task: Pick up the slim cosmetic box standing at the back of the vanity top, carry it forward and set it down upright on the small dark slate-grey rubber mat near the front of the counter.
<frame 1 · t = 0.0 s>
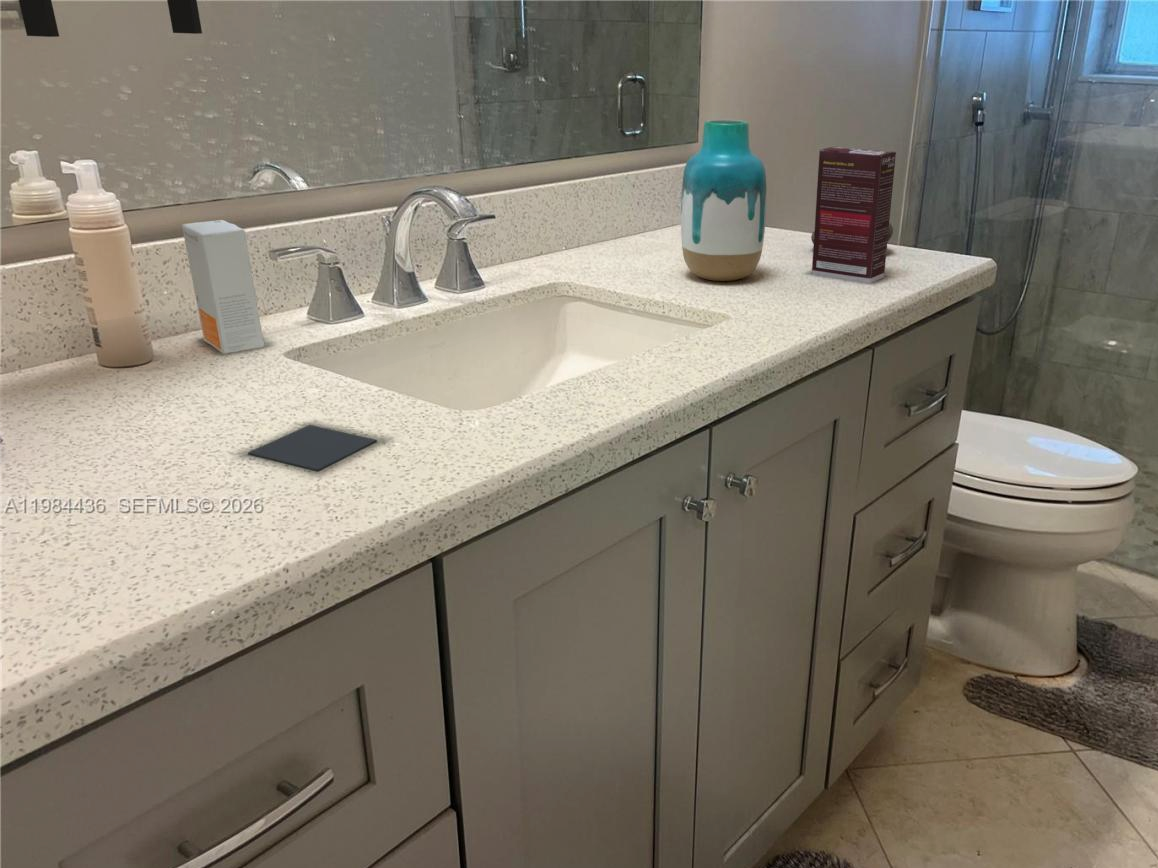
hand: (120, 35, 85), 29 cm above the worktop, tool pointing down, fingers open, 13 cm apart
vase: (721, 281, 133), on the worktop
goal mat: (314, 451, 81), on the worktop
supplement box: (846, 279, 135), on the worktop
cosmetic box: (234, 348, 105), on the worktop
stone: (849, 255, 148), on the worktop
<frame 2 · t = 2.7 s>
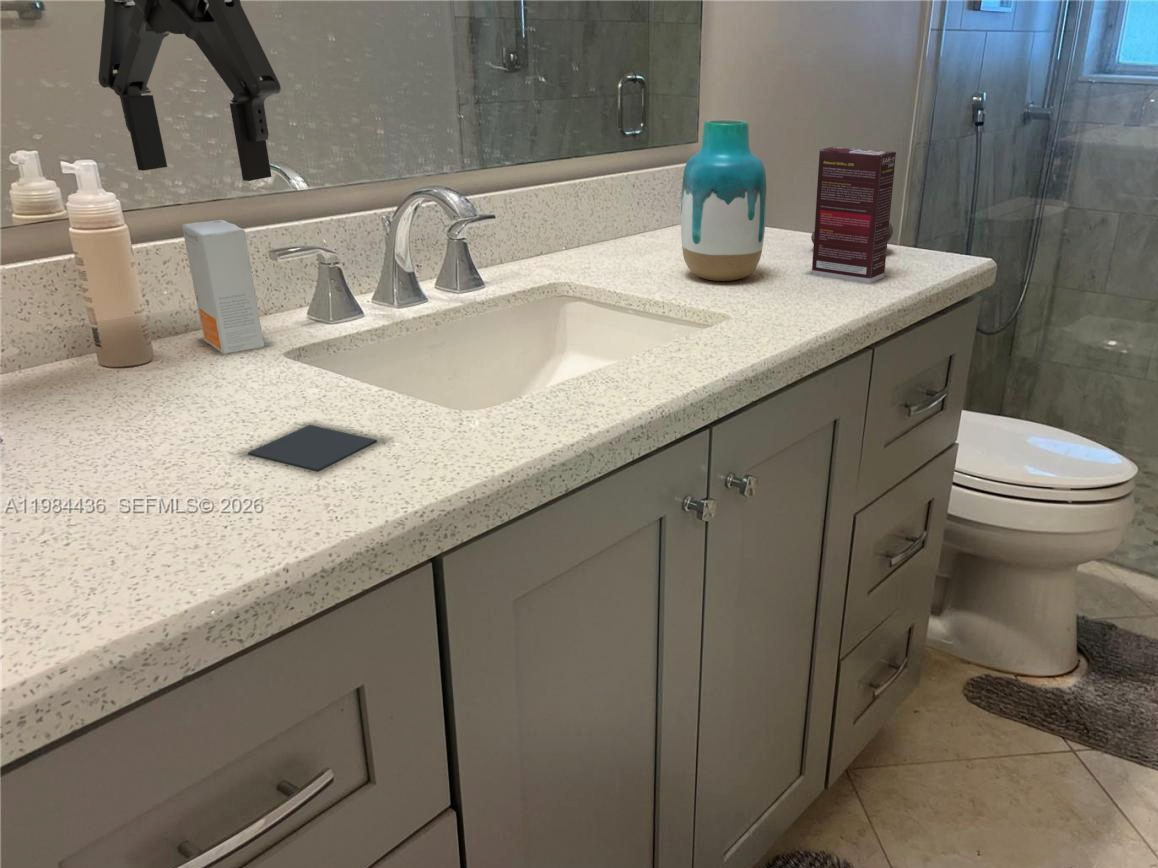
hand: (203, 174, 97), 17 cm above the worktop, tool pointing down, fingers open, 13 cm apart
nothing on the worktop moved.
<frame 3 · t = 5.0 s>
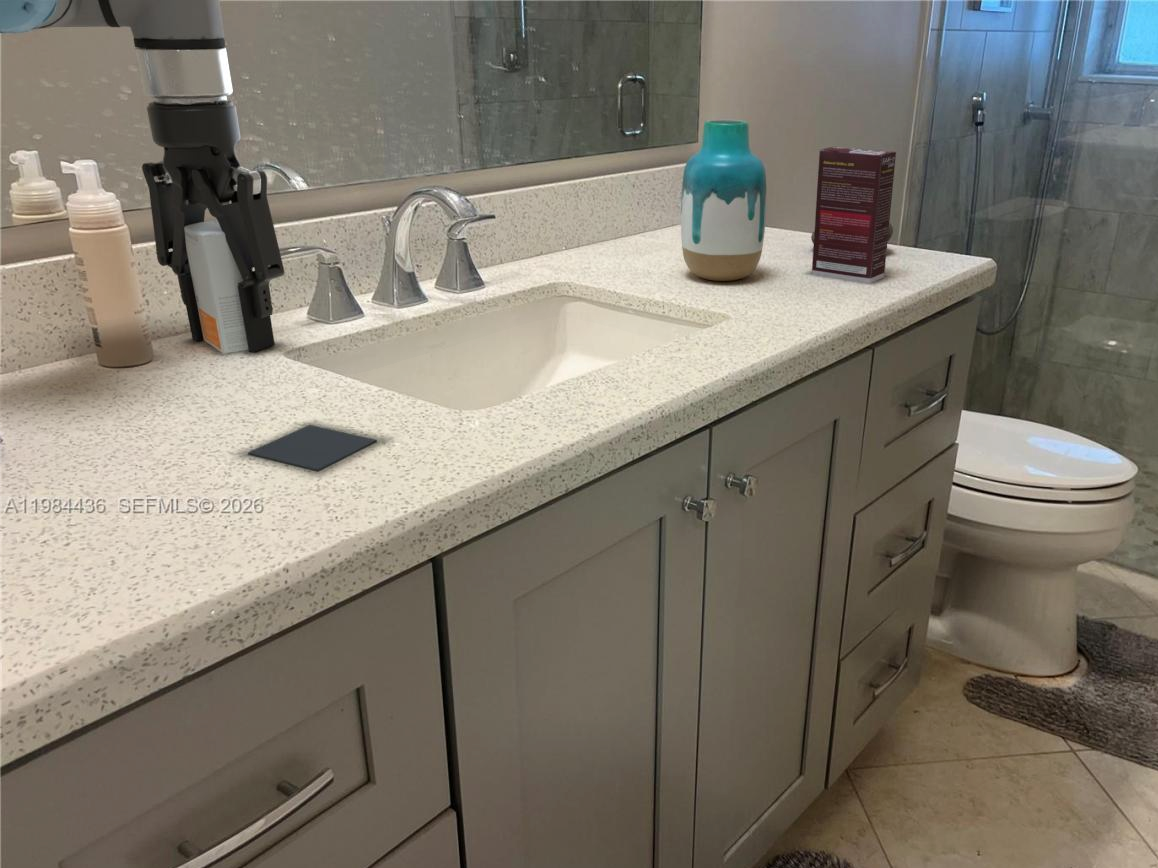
hand: (233, 342, 105), 0 cm above the worktop, tool pointing down, fingers closed on cosmetic box, 7 cm apart
cosmetic box: (234, 348, 105), on the worktop, touching gripper
everything else where it was.
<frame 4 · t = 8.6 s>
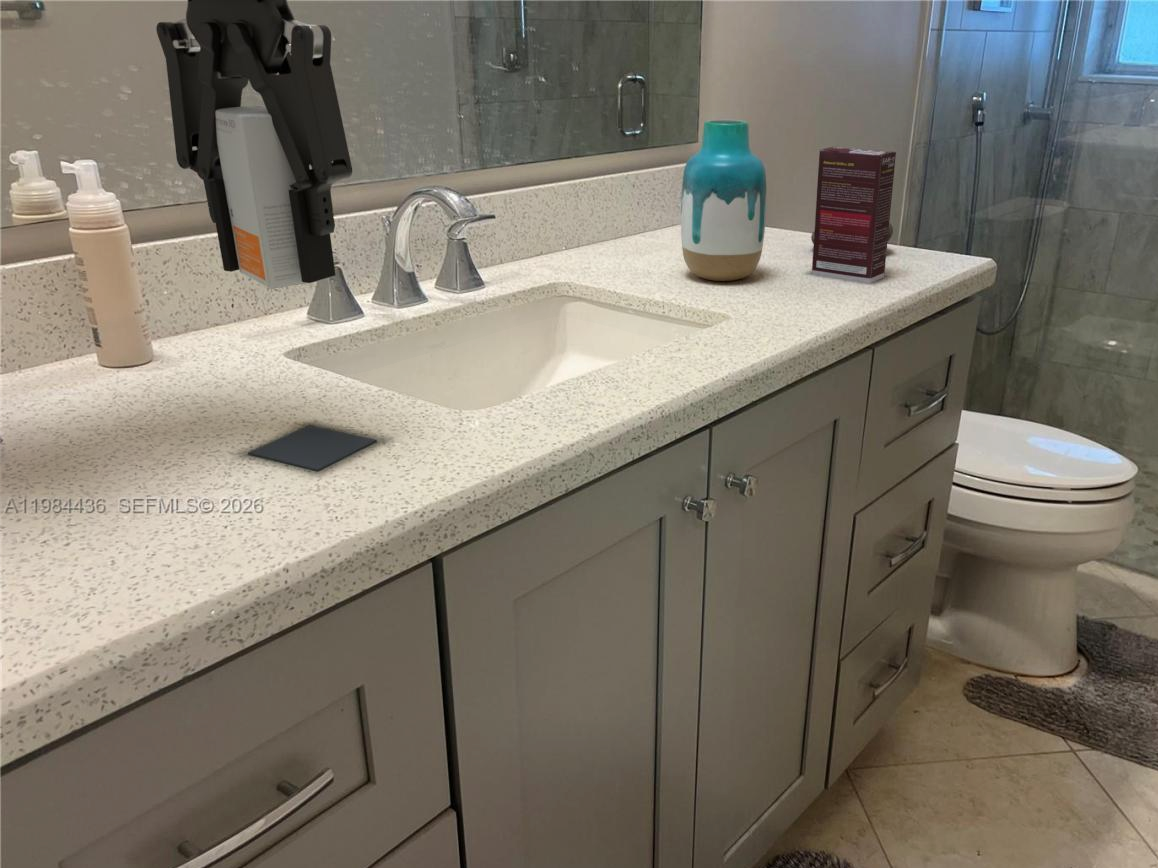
hand: (279, 272, 78), 13 cm above the worktop, tool pointing down, fingers closed on cosmetic box, 7 cm apart
cosmetic box: (281, 280, 79), point 13 cm above the worktop, touching gripper
everything else where it was.
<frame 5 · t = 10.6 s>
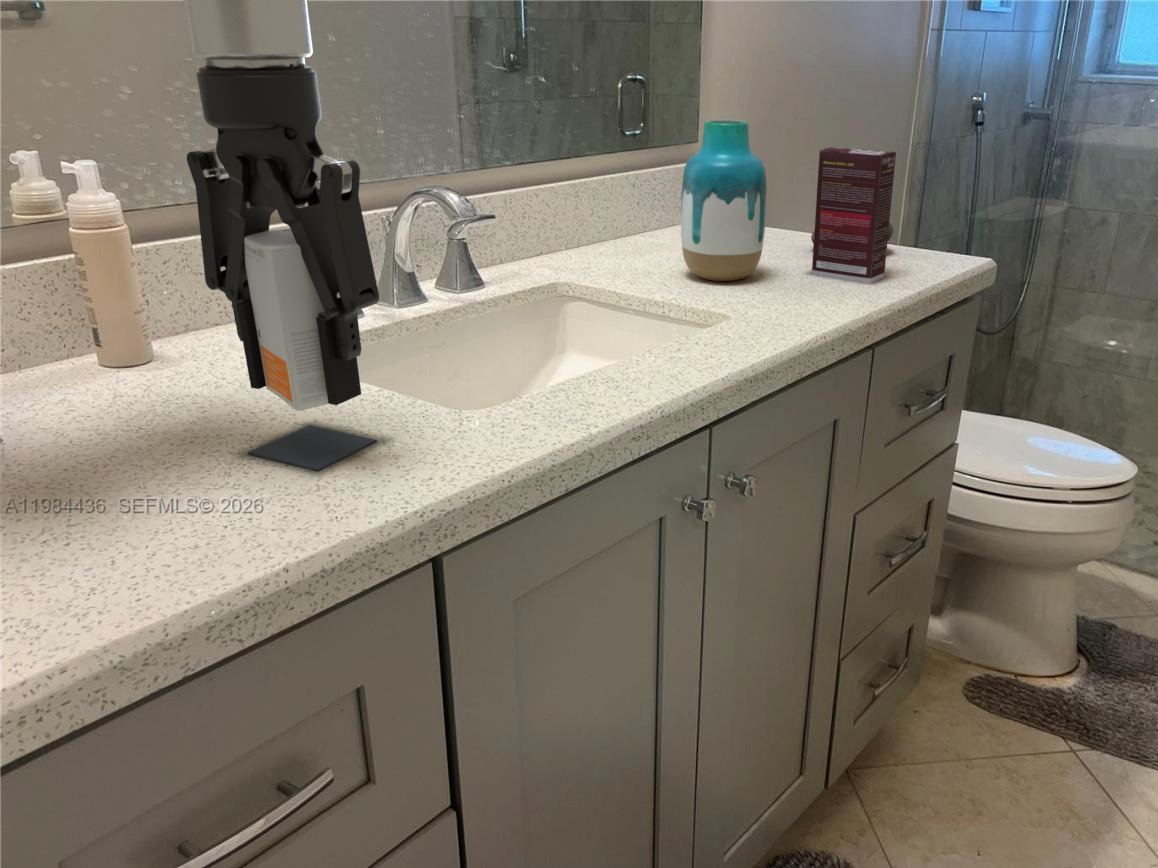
hand: (305, 390, 79), 5 cm above the worktop, tool pointing down, fingers closed on cosmetic box, 7 cm apart
cosmetic box: (307, 398, 79), point 4 cm above the worktop, touching gripper
everything else where it was.
when the fingers open (1 cm above the worktop, at t = 12.1 s): cosmetic box stays where it is, resting on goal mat.
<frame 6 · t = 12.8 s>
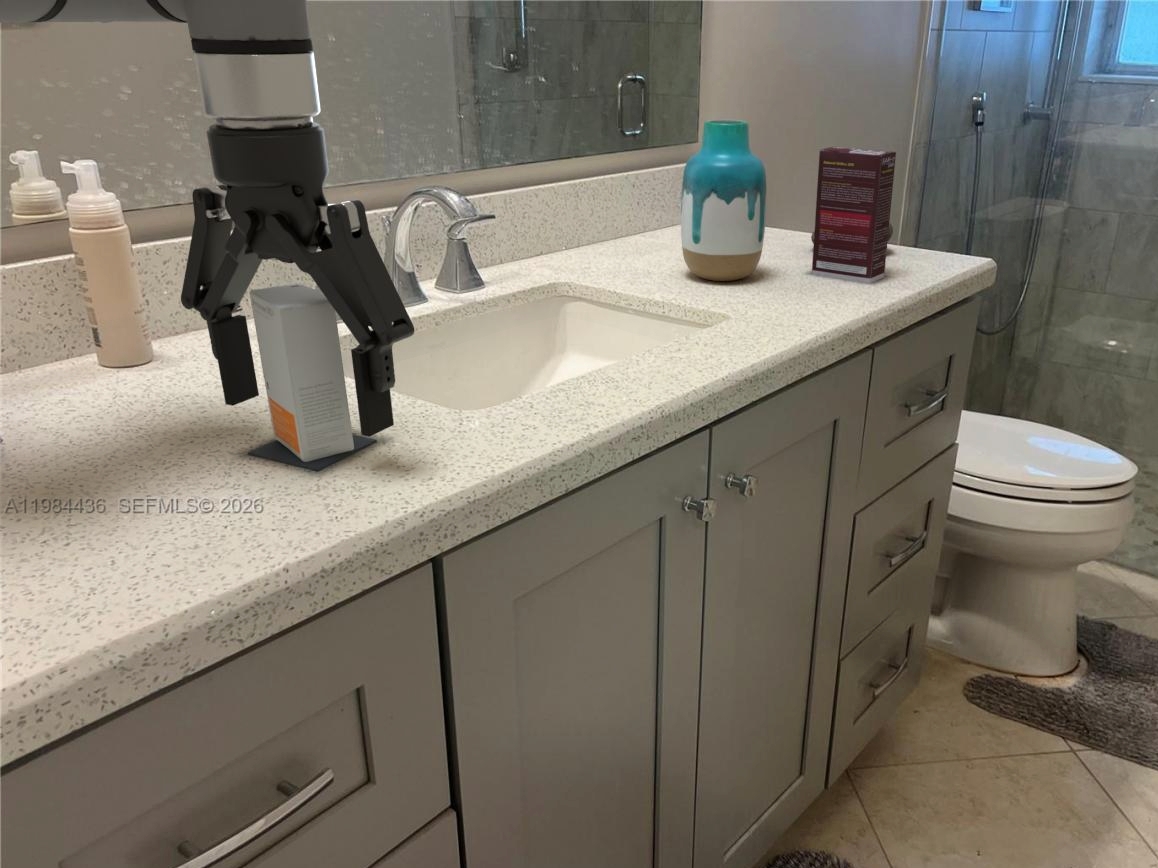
hand: (308, 414, 80), 3 cm above the worktop, tool pointing down, fingers open, 13 cm apart
cosmetic box: (314, 448, 81), resting on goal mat
everything else where it was.
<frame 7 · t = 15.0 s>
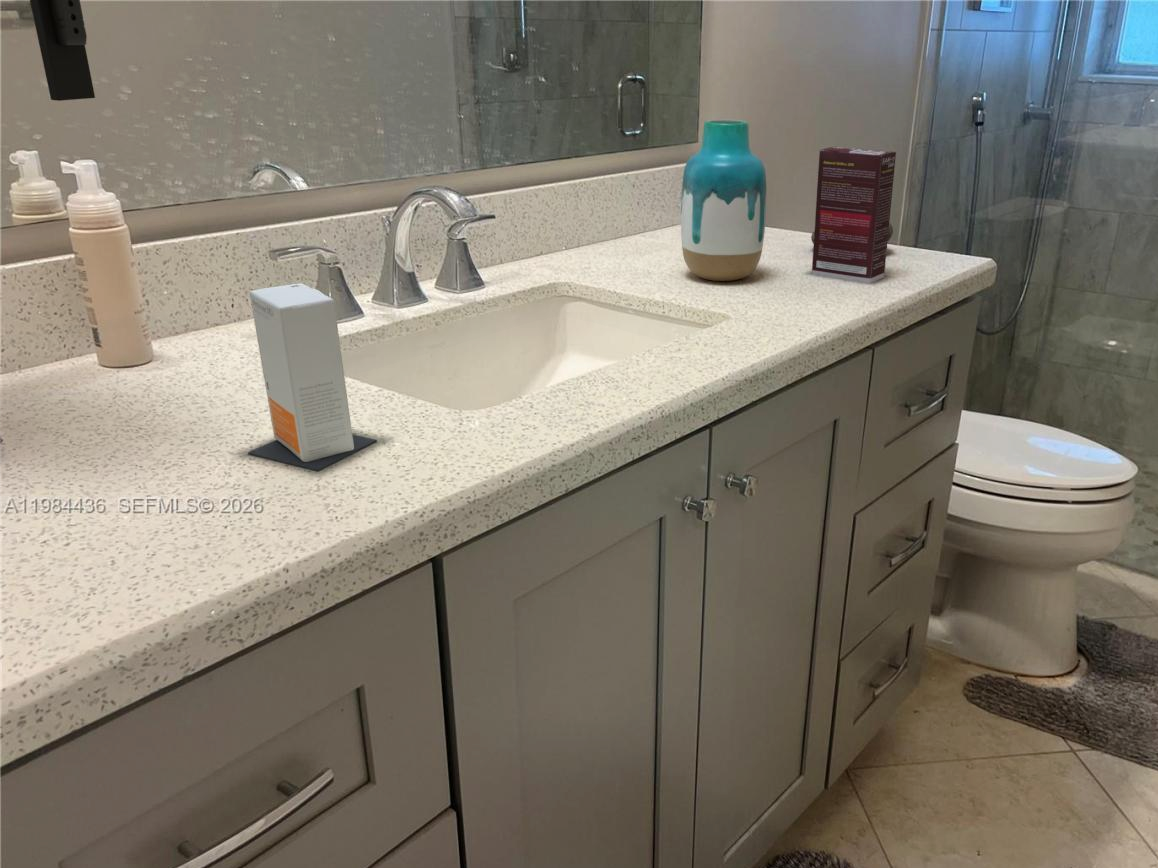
hand: (5, 91, 72), 26 cm above the worktop, tool pointing down, fingers open, 13 cm apart
nothing on the worktop moved.
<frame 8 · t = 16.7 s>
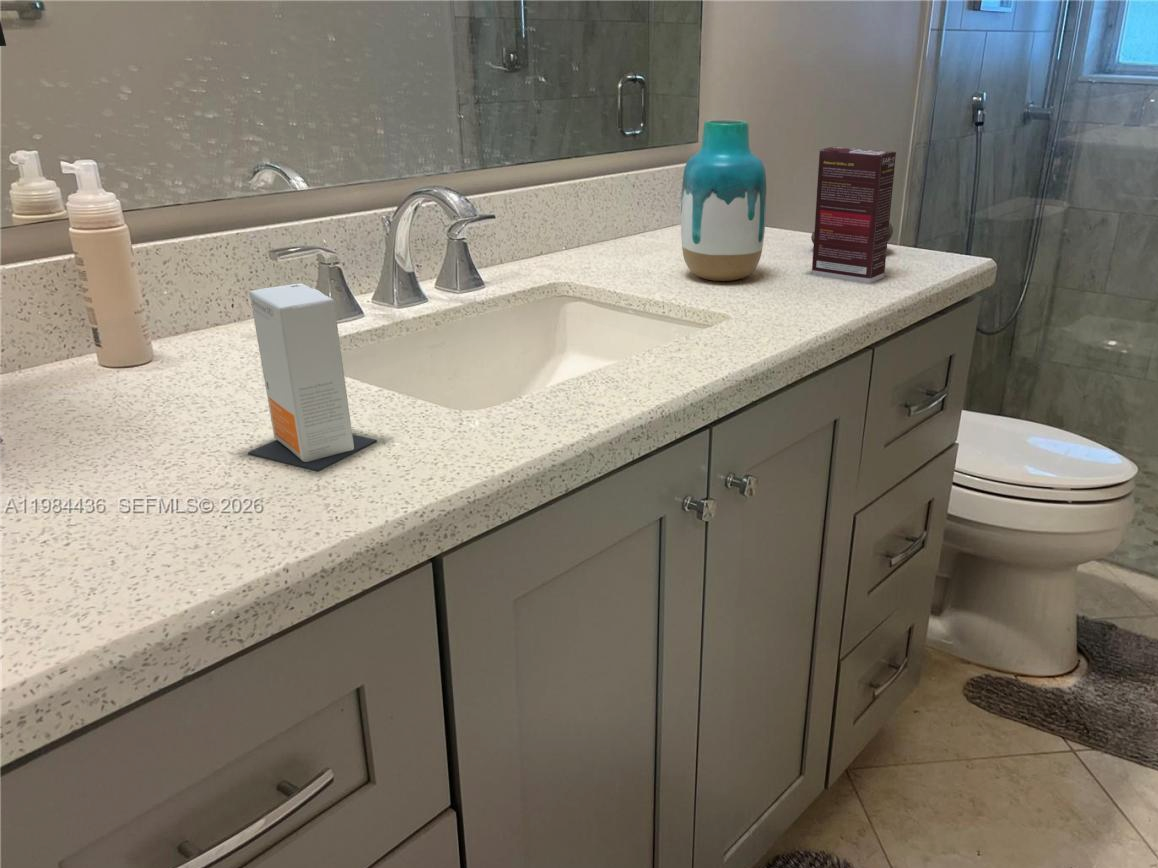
nothing on the worktop moved.
at the end: cosmetic box 0.1 cm off-centre on the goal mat, point 0.3 cm above the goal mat's base; cosmetic box tilted 0°; the gripper is holding nothing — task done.
